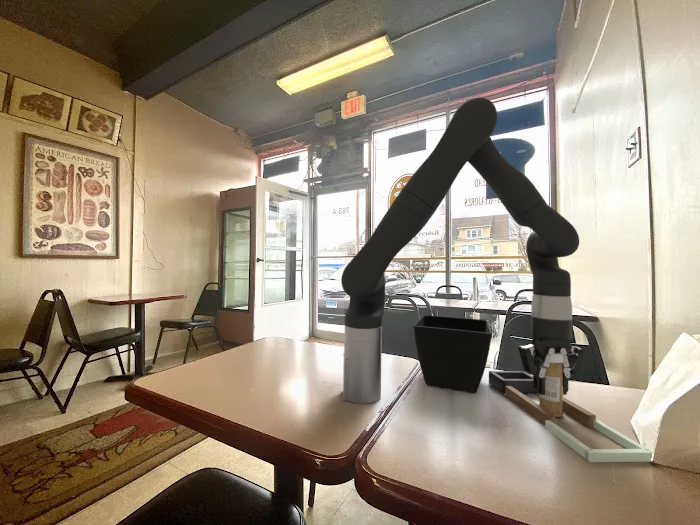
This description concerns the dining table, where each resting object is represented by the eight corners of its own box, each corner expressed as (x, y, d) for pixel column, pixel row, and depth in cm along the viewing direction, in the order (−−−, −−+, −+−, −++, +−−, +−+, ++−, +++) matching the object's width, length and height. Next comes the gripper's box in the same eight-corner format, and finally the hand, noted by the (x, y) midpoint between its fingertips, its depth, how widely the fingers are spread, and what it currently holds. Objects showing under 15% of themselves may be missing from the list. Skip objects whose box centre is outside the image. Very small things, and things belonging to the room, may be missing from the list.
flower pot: (491, 402, 70) (492, 331, 71) (411, 389, 77) (412, 324, 78) (487, 376, 88) (487, 319, 88) (422, 367, 95) (423, 315, 95)
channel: (547, 428, 59) (547, 415, 59) (505, 396, 74) (505, 385, 74) (595, 427, 60) (595, 415, 60) (543, 396, 75) (543, 386, 75)
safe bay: (590, 462, 49) (590, 453, 49) (545, 428, 59) (545, 420, 59) (654, 461, 49) (654, 452, 49) (598, 427, 60) (598, 420, 60)
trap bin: (502, 394, 75) (503, 380, 75) (488, 383, 82) (488, 371, 82) (541, 394, 76) (541, 380, 76) (523, 383, 83) (523, 371, 83)
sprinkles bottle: (566, 414, 65) (567, 352, 65) (557, 420, 62) (558, 355, 62) (543, 406, 68) (544, 347, 69) (534, 411, 66) (534, 350, 66)
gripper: (531, 318, 62) (530, 401, 61) (596, 319, 62) (596, 401, 62) (509, 312, 69) (509, 386, 69) (568, 313, 70) (568, 386, 69)
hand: (550, 393), depth 65 cm, fingers closed on sprinkles bottle, 4 cm apart
